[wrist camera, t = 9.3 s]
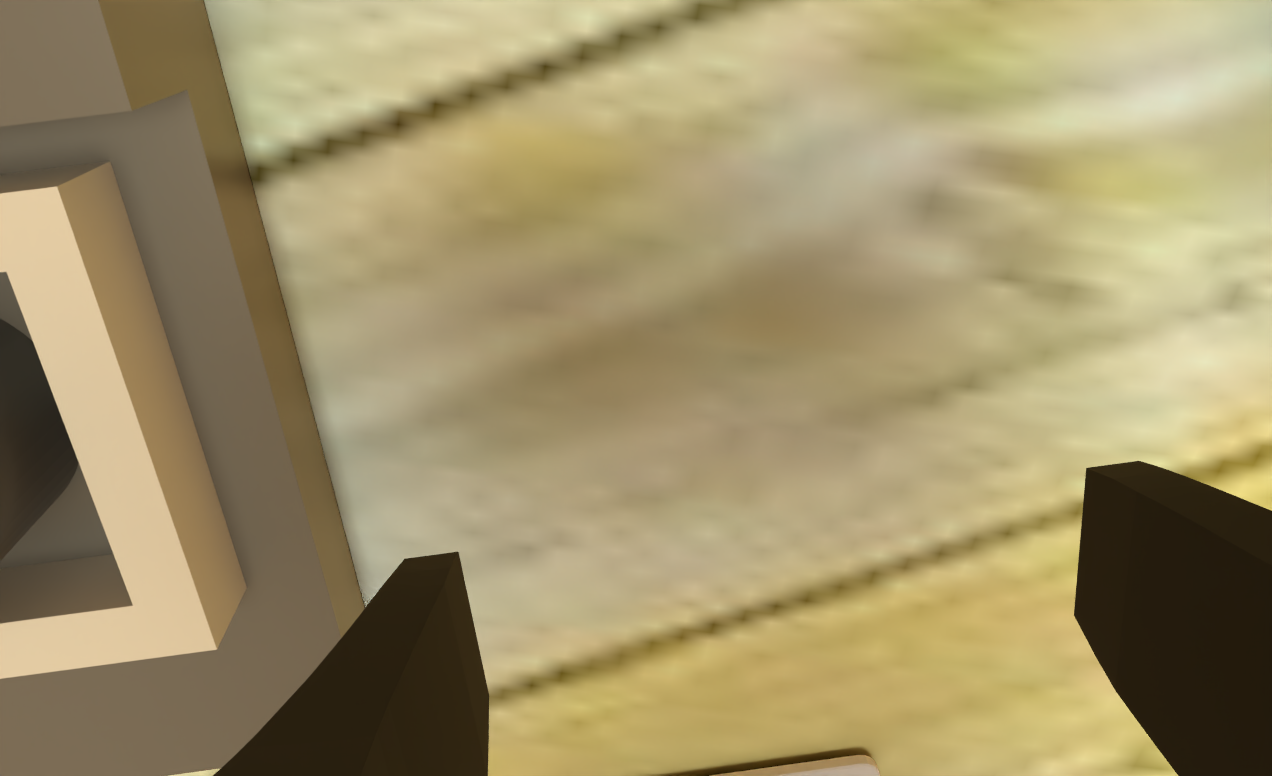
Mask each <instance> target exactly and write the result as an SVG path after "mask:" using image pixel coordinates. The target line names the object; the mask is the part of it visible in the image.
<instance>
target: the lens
mask: <svg viewBox="0 0 1272 776" xmlns="http://www.w3.org/2000/svg"><path fill="white" fill-rule="evenodd" d="M78 464H79V462H78V459H77V457H76V454H75V451H74V449H73V446H72V443H71V441H70V438H69V435H68V433H67V430H66V428H65V425H64V422H63V420H62V417H61V414H60V412H59V409H58V406H57V404H56V401H55V399H54V396H53V393H52V391H51V388H50V385H49V383H48V380H47V377H46V375H45V372H44V370H43V367H42V364H41V362H40V359H39V356H38V354H37V351H36V348H35V346H34V343H33V341H32V340H31V339H29V338H28V337H27V336H26V335H25V334H24V333H22V332H21V331H19V330H18V329H16V328H15V327H13V326H12V325H10V324H9V323H7V322H6V321H4V320H2V319H0V561H1V560H2V559H3V558H4V557H5V556H6V554H7V553H8V552H9V551H10V550H11V549H12V548H13V547H14V546H15V545H16V543H17V542H18V541H19V540H20V539H21V538H22V537H23V536H24V535H25V534H26V532H27V531H28V530H29V529H30V528H31V527H32V526H33V525H34V524H35V522H36V521H37V520H38V519H39V518H40V517H41V516H42V515H43V514H44V513H45V511H46V510H47V509H48V508H49V507H50V506H51V505H52V504H53V503H54V502H55V500H56V499H57V498H58V497H59V496H60V495H61V494H62V492H63V491H64V490H65V489H66V488H67V486H68V485H69V483H70V481H71V480H72V478H73V476H74V474H75V472H76V469H77V466H78Z"/></svg>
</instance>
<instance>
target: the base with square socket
mask: <svg viewBox="0 0 1272 776" xmlns="http://www.w3.org/2000/svg"><path fill="white" fill-rule="evenodd" d="M0 319H2V320H4V321H6V322H7V323H9V324H10V325H12V326H13V327H15V328H16V329H18V330H19V331H21V332H22V333H24V334H25V335H26V336H27V337H28V338H29V339H31V340H32V341H33V343H34V346H35V348H36V351H37V354H38V356H39V359H40V362H41V364H42V367H43V370H44V372H45V375H46V377H47V380H48V383H49V385H50V388H51V391H52V393H53V396H54V399H55V401H56V404H57V406H58V409H59V412H60V414H61V417H62V420H63V422H64V425H65V428H66V430H67V433H68V435H69V438H70V441H71V443H72V446H73V449H74V451H75V454H76V457H77V459H78V462H79V464H78V466H77V469H76V472H75V474H74V476H73V478H72V480H71V481H70V483H69V485H68V486H67V488H66V489H65V490H64V491H63V492H62V494H61V495H60V496H59V497H58V498H57V499H56V500H55V502H54V503H53V504H52V505H51V506H50V507H49V508H48V509H47V510H46V511H45V513H44V514H43V515H42V516H41V517H40V518H39V519H38V520H37V521H36V522H35V524H34V525H33V526H32V527H31V528H30V529H29V530H28V531H27V532H26V534H25V535H24V536H23V537H22V538H21V539H20V540H19V541H18V542H17V543H16V545H15V546H14V547H13V548H12V549H11V550H10V551H9V552H8V553H7V554H6V556H5V557H4V558H3V559H2V560H1V561H0V776H168V775H175V774H182V773H189V772H197V771H204V770H211V769H218V768H222V767H223V766H224V765H225V764H226V763H227V762H228V761H229V760H230V759H232V758H233V757H234V756H235V755H236V754H237V753H238V752H239V751H240V750H241V749H242V748H243V747H244V746H245V745H246V744H247V743H248V742H249V741H250V740H251V739H252V738H253V737H254V736H255V735H256V734H257V733H258V732H259V731H260V730H261V729H262V727H263V726H264V725H265V724H266V723H267V722H268V721H269V720H270V719H271V718H272V717H273V716H274V714H275V713H276V712H277V711H278V710H279V709H280V708H281V707H282V706H283V705H284V704H285V702H286V701H287V700H288V699H289V698H290V697H291V696H292V695H293V694H294V693H295V692H296V691H297V689H298V688H299V687H300V686H301V685H302V684H303V683H304V682H305V681H306V680H307V679H308V677H309V676H310V675H311V674H312V673H313V671H314V670H315V669H316V668H317V667H318V665H319V664H320V663H321V662H322V661H323V659H324V658H325V657H326V656H327V655H328V653H329V652H330V651H331V650H332V649H333V647H334V646H335V645H336V644H337V643H338V641H339V640H340V639H341V638H342V637H343V635H344V634H345V633H346V632H347V630H348V629H349V628H350V627H351V625H352V624H353V623H354V622H355V620H356V619H357V618H358V617H359V615H360V614H361V613H362V611H363V610H364V609H365V608H364V604H363V600H362V597H361V593H360V589H359V585H358V581H357V578H356V574H355V570H354V566H353V563H352V559H351V555H350V551H349V548H348V544H347V540H346V536H345V533H344V529H343V525H342V521H341V517H340V514H339V510H338V506H337V502H336V499H335V495H334V491H333V487H332V484H331V480H330V476H329V472H328V469H327V465H326V461H325V457H324V454H323V450H322V446H321V442H320V438H319V435H318V431H317V427H316V423H315V420H314V416H313V412H312V408H311V405H310V401H309V397H308V393H307V390H306V386H305V382H304V378H303V374H302V371H301V367H300V363H299V359H298V356H297V352H296V348H295V344H294V341H293V337H292V333H291V329H290V326H289V322H288V318H287V314H286V310H285V307H284V303H283V299H282V295H281V292H280V288H279V284H278V280H277V277H276V273H275V269H274V265H273V262H272V258H271V254H270V250H269V246H268V243H267V239H266V235H265V231H264V228H263V224H262V220H261V216H260V213H259V209H258V205H257V201H256V198H255V194H254V190H253V186H252V182H251V179H250V175H249V171H248V167H247V164H246V160H245V156H244V152H243V149H242V145H241V141H240V137H239V134H238V130H237V126H236V122H235V118H234V115H233V111H232V107H231V103H230V100H229V96H228V92H227V88H226V85H225V81H224V77H223V73H222V70H221V66H220V62H219V58H218V54H217V51H216V47H215V43H214V39H213V36H212V32H211V28H210V24H209V21H208V17H207V13H206V9H205V6H204V2H203V0H0Z"/></svg>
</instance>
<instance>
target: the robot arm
mask: <svg viewBox="0 0 1272 776" xmlns="http://www.w3.org/2000/svg"><path fill="white" fill-rule="evenodd" d="M1074 616H1075V618H1076V620H1077V622H1078V624H1079V625H1080V627H1081V629H1082V631H1083V633H1084V635H1085V637H1086V639H1087V641H1088V643H1089V644H1090V646H1091V648H1092V650H1093V652H1094V654H1095V656H1096V658H1097V659H1098V661H1099V663H1100V665H1101V666H1102V668H1103V670H1104V671H1105V673H1106V675H1107V677H1108V678H1109V680H1110V682H1111V684H1112V685H1113V687H1114V689H1115V690H1116V692H1117V693H1118V695H1119V696H1120V697H1121V699H1122V700H1123V702H1124V703H1125V704H1126V706H1127V707H1128V709H1129V710H1130V711H1131V713H1132V714H1133V715H1134V717H1135V718H1136V719H1137V721H1138V722H1139V723H1140V725H1141V726H1142V727H1143V729H1144V730H1145V732H1146V733H1147V734H1148V736H1149V737H1150V738H1151V740H1152V741H1153V742H1154V744H1155V745H1156V746H1157V748H1158V749H1159V750H1160V752H1161V753H1162V754H1163V756H1164V757H1165V758H1166V760H1167V761H1168V762H1169V764H1170V765H1171V766H1172V768H1173V769H1174V770H1175V772H1176V773H1177V774H1178V776H1272V511H1271V510H1268V509H1266V508H1263V507H1261V506H1258V505H1256V504H1253V503H1251V502H1248V501H1246V500H1243V499H1241V498H1239V497H1236V496H1234V495H1231V494H1229V493H1226V492H1224V491H1221V490H1219V489H1216V488H1214V487H1211V486H1209V485H1206V484H1204V483H1201V482H1198V481H1196V480H1193V479H1191V478H1188V477H1186V476H1183V475H1180V474H1177V473H1175V472H1172V471H1169V470H1166V469H1163V468H1160V467H1157V466H1154V465H1151V464H1147V463H1144V462H1141V461H1135V462H1128V463H1120V464H1113V465H1105V466H1098V467H1090V468H1086V479H1085V491H1084V503H1083V515H1082V527H1081V539H1080V550H1079V562H1078V574H1077V586H1076V598H1075V610H1074ZM488 741H489V693H488V689H487V684H486V679H485V675H484V670H483V665H482V660H481V656H480V651H479V646H478V642H477V637H476V632H475V628H474V623H473V618H472V614H471V609H470V604H469V600H468V595H467V590H466V586H465V581H464V576H463V572H462V567H461V562H460V557H459V553H458V552H453V553H446V554H438V555H431V556H423V557H416V558H408V559H404V560H403V562H402V563H401V564H400V565H399V566H398V568H397V569H396V570H395V571H394V572H393V574H392V575H391V576H390V577H389V578H388V580H387V581H386V582H385V583H384V585H383V586H382V587H381V589H380V590H379V591H378V592H377V594H376V595H375V596H374V597H373V599H372V600H371V601H370V603H369V604H368V605H367V606H366V608H365V609H364V610H363V611H362V613H361V614H360V615H359V617H358V618H357V619H356V620H355V622H354V623H353V624H352V625H351V627H350V628H349V629H348V630H347V632H346V633H345V634H344V635H343V637H342V638H341V639H340V640H339V641H338V643H337V644H336V645H335V646H334V647H333V649H332V650H331V651H330V652H329V653H328V655H327V656H326V657H325V658H324V659H323V661H322V662H321V663H320V664H319V665H318V667H317V668H316V669H315V670H314V671H313V673H312V674H311V675H310V676H309V677H308V679H307V680H306V681H305V682H304V683H303V684H302V685H301V686H300V687H299V688H298V689H297V691H296V692H295V693H294V694H293V695H292V696H291V697H290V698H289V699H288V700H287V701H286V702H285V704H284V705H283V706H282V707H281V708H280V709H279V710H278V711H277V712H276V713H275V714H274V716H273V717H272V718H271V719H270V720H269V721H268V722H267V723H266V724H265V725H264V726H263V727H262V729H261V730H260V731H259V732H258V733H257V734H256V735H255V736H254V737H253V738H252V739H251V740H250V741H249V742H248V743H247V744H246V745H245V746H244V747H243V748H242V749H241V750H240V751H239V752H238V753H237V754H236V755H235V756H234V757H233V758H232V759H230V760H229V761H228V762H227V763H226V764H225V765H224V766H223V767H222V768H221V769H220V770H219V771H218V772H217V773H216V774H214V775H213V776H488ZM711 776H880V773H879V770H878V767H877V765H876V762H875V761H874V760H873V759H872V758H871V757H869V756H866V755H854V756H847V757H840V758H832V759H825V760H818V761H811V762H804V763H797V764H789V765H782V766H775V767H768V768H761V769H754V770H746V771H739V772H732V773H725V774H718V775H711Z"/></svg>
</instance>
